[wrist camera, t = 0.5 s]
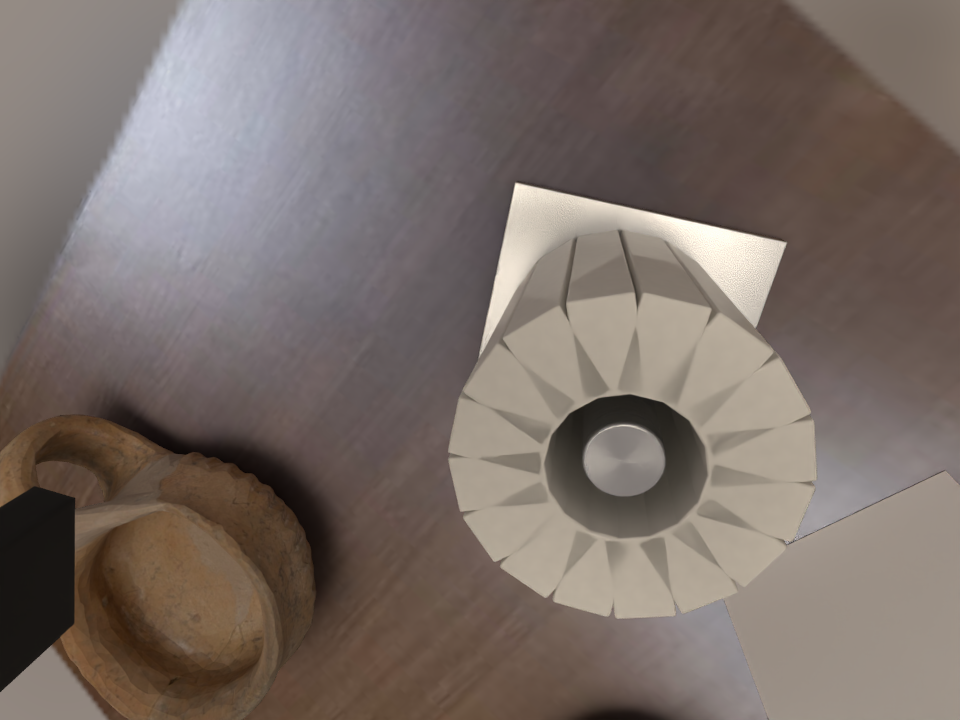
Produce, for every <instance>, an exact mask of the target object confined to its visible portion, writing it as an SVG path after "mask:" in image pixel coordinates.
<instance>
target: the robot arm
mask: <svg viewBox="0 0 960 720" xmlns="http://www.w3.org/2000/svg"><path fill="white" fill-rule="evenodd" d="M74 621H75V498H73V497H70V496H66V495H63V494H59V493H56V492H53V491H49V490H46V489H43V488H39V487H36V486H34V487H32V488H31V489H29V490H27V491H26V492H24V493H22V494H21V495H19V496H17V497H16V498H14V499H13V500H11V501H9V502H8V503H6V504H4V505H3V506H1V507H0V692H1V691H2V690H3V689H4V688H5V687H6V686H7V685H8V684H10V683H11V682H12V681H13V680H14V679H15V678H16V677H17V676H18V675H19V674H20V673H21V672H22V671H24V670H25V669H26V668H27V667H28V666H29V665H30V664H31V663H32V662H33V661H34V660H35V659H37V658H38V657H39V656H40V655H41V654H42V653H43V652H44V651H45V650H46V649H47V648H49V647H50V646H51V645H52V644H53V643H54V642H55V641H56V640H57V639H58V638H60V637H61V636H62V635H63V634H64V633H65V632H66V631H67V630H68V629H69V628H70V627H71V626H73V625H74Z"/></svg>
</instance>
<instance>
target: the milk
mask: <svg viewBox="0 0 960 720" xmlns="http://www.w3.org/2000/svg"><path fill="white" fill-rule="evenodd" d="M735 582H736V581H735ZM736 585H737V588H738V592H737V593H735V594H733V595H730V596H728V597H725V598H723V599H724V602H725V604H726V607H727V610H728V612H729V615H730V618H731V620H732V623H733V626H734V628H735V631H736V634H737V636H738V639H739V642H740V644H741V647H742V650H743V652H744V655H745V658H746V660H747V663H748V666H749V668H750V671H751V674H752V677H753V679H754V682H755V685H756V687H757V690H758V693H759V695H760V698H761V701H762V703H763V706H764V709H765V711H766V714H767V717H768V719H769V720H960V485H959V484H958V483H957V482H956V481H955V480H954V479H953V478H952V477H951V476H950V475H949V474H948V473H947V472H946V470H945V471H943V472H941V473H939V474H937V475H935V476H933V477H931V478H929V479H926V480H924V481H922V482H920V483H918V484H916V485H914V486H912V487H910V488H907V489H905V490H903V491H901V492H899V493H897V494H895V495H893V496H890V497H888V498H886V499H884V500H882V501H880V502H878V503H876V504H874V505H871V506H869V507H867V508H865V509H863V510H861V511H859V512H857V513H855V514H852V515H850V516H848V517H846V518H844V519H842V520H840V521H838V522H835V523H833V524H831V525H829V526H827V527H825V528H823V529H821V530H819V531H816V532H814V533H812V534H810V535H808V536H806V537H804V538H802V539H800V540H797V541H795V542H793V543H791V544H789V545H787V548H786V550H785V551H784V552H783V553H782V554H781V555H779V556H778V557H777V558H776V559H775V560H774V561H773V562H772V563H771V564H770V565H769V566H768V567H767V568H765V569H764V570H763V571H762V572H761V573H760V574H759V575H758V576H757V577H756V578H755V579H754V580H752V581H751V582H750V583H749V584H748V585H747V586H746V587H743V586H741V585H740V584H739V583H737V582H736Z"/></svg>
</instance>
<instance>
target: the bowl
mask: <svg viewBox="0 0 960 720" xmlns="http://www.w3.org/2000/svg"><path fill="white" fill-rule="evenodd" d="M53 460H54V461H62V462H70V463H73V464H76V465H79V466H82V467H85V468H87V469H88V470H90V471H92V472H93V473H94V474H95V475H96V477H97V479H98V482H99V484H100V487H101V489H102V491H103V493H104V502H103V503H98V504H94V505H89V506H85V507H82V508H78V509H75V621H74V625H73V626H71V627H70V628H69V629H68V630H67V631H66V632H65V633H64V634H63V635H62V636H61V640H62V643H63V646H64V649H65V651H66V652H67V654H68V656H69V658H70V660H72V661H73V662H74V663H75V664H76V666H77V667H78V668H79V670H80V672H81V673H82V675H83V677H84V678H85V679H86V680H87V681H88V682H90V683H91V684H92V685H93V686H94V687H95V688H96V690H97V691H98V692H99V694H100V695H101V696H102V697H103V698H104V699H105V700H106V701H107V702H108V703H109V704H110V705H112V706H113V707H114V708H115V709H116V710H117V711H118V712H119V713H120V714H121V715H122V716H124V717H126V718H128V719H130V720H243V719H244V718H245V717H246V716H247V715H248V714H249V713H250V712H251V711H252V710H253V709H254V708H256V707H257V706H258V705H259V703H260V702H261V701H262V699H263V698H264V697H265V695H266V694H267V692H268V691H269V689H270V687H271V686H272V684H273V682H274V680H275V678H276V675H277V673H278V671H279V670H280V668H281V667H282V666H283V665H284V664H285V663H286V662H287V661H288V659H289V658H290V657H291V656H292V655H293V654H294V652H295V651H296V650H297V649H298V648H299V646H300V644H301V643H302V641H303V639H304V637H305V634H306V632H307V631H308V630H309V628H310V627H311V624H312V617H313V613H314V608H315V598H316V589H315V580H314V575H313V573H314V566H313V562H312V558H311V548H310V544H309V543H308V541H307V540H306V535H305V531H304V529H303V528H302V526H301V525H300V524H299V522H298V519H297V517H296V516H295V514H294V513H293V511H292V510H291V509H290V508H289V507H288V506H286V505H285V503H284V501H283V500H282V499H280V498H279V497H277V496H276V495H275V494H274V491H273V489H272V488H271V487H270V486H268V485H265V484H262V483H260V482H259V481H258V479H257V477H256V476H255V475H253V474H252V473H244V472H242V471H241V470H240V469H239V468H238V467H237V466H236V465H235V464H233V463H223V462H222V461H221V460H219V459H218V458H215V457H210V458H206V457H204V456H203V455H202V454H200V453H196V452H192V453H189V454H187V455H184V454H174V453H173V452H172V451H169V450H167V449H165V448H162V447H161V446H159V445H157V444H155V443H153V442H152V441H150V440H148V439H147V438H145V437H144V436H142V435H141V434H139V433H137V432H135V431H132V430H130V429H127V428H125V427H123V426H120V425H118V424H116V423H114V422H111V421H109V420H106V419H102V418H97V417H91V416H86V415H60V416H57V417H53V418H49V419H46V420H44V421H41V422H39V423H37V424H34V425H32V426H31V427H29V428H28V429H26V430H25V431H23V432H22V433H21V434H19V435H18V436H17V437H16V438H15V439H13V440H12V441H11V442H10V443H9V444H8V445H7V446H6V447H5V448H4V449H3V450H2V451H1V452H0V507H1V506H3V505H4V504H6V503H8V502H9V501H11V500H13V499H14V498H16V497H17V496H19V495H21V494H22V493H24V492H26V491H27V490H29V489H31V488H32V487H34V486H36V487H39V488H40V485H39V483H38V479H37V472H36V465H37V464H39V463H41V462H45V461H53Z"/></svg>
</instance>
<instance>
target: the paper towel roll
mask: <svg viewBox="0 0 960 720" xmlns="http://www.w3.org/2000/svg"><path fill="white" fill-rule="evenodd" d="M627 394H632V395H636V396H640V397H644V398H648V399H652V400H654V404H655V408H656V413H657V417H658V421H659V426H660V430H661V434H662V439H663V443H664V447H665V452H666V459H667V462H666V468H665V471H664V474H663V476H662V478H661V479H660V481H659V482H658V483H657V484H656V485H655V486H654V487H653V488H652V489H650V490H649V491H647V492H645V493H643V494H641V495H638V496H633V497H616V496H612V495H609V494H606V493H604V492H602V491H601V490H599V489H598V488H596V487H595V486H594V485H593V484H592V483H591V482H590V481H589V479H588V478H587V476H586V475H585V472H584V470H583V466H582V437H583V412H584V405H586V404H588V403H590V402H592V401H594V400H595V399H597V398H602V397H610V396H619V395H627ZM810 413H811V410H810V408H809V406H808V404H807V403H806V401H805V399H804V397H803V396H802V394H801V392H800V390H799V389H798V387H797V385H796V383H795V381H794V380H793V378H792V376H791V374H790V373H789V371H788V369H787V367H786V366H785V364H784V362H783V360H782V359H781V358H780V356H779V355H778V354H777V353H776V352H775V351H774V350H773V348H772V347H771V346H770V345H769V344H768V343H767V341H766V340H765V339H764V338H763V337H762V336H761V335H760V333H759V332H758V331H757V330H756V329H755V328H754V327H753V325H752V324H751V323H750V322H749V321H748V320H747V318H746V317H745V316H744V315H743V314H742V313H741V312H740V310H739V309H738V308H737V307H736V306H735V305H734V304H733V302H732V301H731V300H730V299H729V298H728V297H727V296H726V294H725V293H724V292H723V291H722V290H721V289H720V287H719V286H718V285H717V284H716V283H715V282H714V281H713V279H712V278H711V277H710V276H709V275H708V274H707V273H706V271H705V270H704V269H703V268H702V267H701V266H700V265H699V264H698V263H697V262H696V261H694V260H693V259H692V258H690V257H689V256H687V255H686V254H685V253H683V252H682V251H681V250H679V249H678V248H676V247H675V246H674V245H672V244H671V243H669V242H664V241H663V239H661V238H657V237H653V236H648V235H644V234H639V233H635V232H630V231H626V230H622V233H621V236H619V232H618V230H613V231H607V232H601V233H596V234H590V235H584V236H579V237H578V238H577V243H576V242H575V240H574V239H571V240H569V241H568V242H566V243H565V244H563V245H561V246H560V247H558V248H557V249H555V250H553V251H552V252H550V253H548V254H547V255H545V256H544V257H542V258H540V260H539V262H538V263H535V264H534V266H533V267H532V269H531V270H530V271H529V273H528V274H527V276H526V277H525V278H524V280H523V281H522V283H521V284H520V285H519V287H518V288H517V290H516V291H515V292H514V294H513V296H512V298H511V300H510V302H509V304H508V306H507V307H506V309H505V311H504V313H503V315H502V317H501V319H500V320H499V322H498V324H497V326H496V328H495V330H494V332H493V334H492V335H491V337H490V339H489V341H488V343H487V345H486V347H485V349H484V350H483V352H482V354H481V356H480V358H479V360H478V362H477V363H476V365H475V367H474V369H473V371H472V373H471V375H470V377H469V378H468V380H467V382H466V384H465V386H464V388H463V391H462V393H461V395H460V397H459V398H458V403H457V408H456V413H455V418H454V423H453V428H452V433H451V437H450V442H449V447H448V452H449V453H451V454H450V456H449V458H448V461H449V466H450V470H451V474H452V479H453V483H454V488H455V492H456V497H457V501H458V506H459V510H460V511H465V513H464V516H463V519H464V520H465V522H466V523H467V524H468V526H469V527H470V529H471V530H472V532H473V533H474V534H475V536H476V537H477V539H478V540H479V541H480V543H481V544H482V546H483V547H484V549H485V550H486V551H487V553H488V554H489V556H490V557H491V558H492V560H493V561H494V562H496V561H498V560H501V563H500V567H501V568H502V569H503V570H505V571H506V572H508V573H509V574H511V575H512V576H514V577H515V578H516V579H518V580H519V581H521V582H522V583H524V584H525V585H527V586H528V587H530V588H531V589H533V590H534V591H535V592H537V593H538V594H540V595H541V596H543V597H544V598H547V597H548V596H549V595H550V594H551V593H552V592H553V601H554V602H555V603H559V604H562V605H566V606H570V607H573V608H577V609H580V610H584V611H588V612H591V613H595V614H598V615H602V616H606V617H608V616H609V615H610V613H611V610H612V607H613V606H614V612H615V617H616V619H623V618H644V617H665V616H676V609H675V603H676V605H677V606H678V608H679V609H680V611H681V612H682V613H683V614H685V613H687V612H690V611H692V610H695V609H697V608H700V607H702V606H705V605H707V604H710V603H712V602H715V601H717V600H720V599H723V598H725V597H728V596H730V595H733V594H735V593H737V592H738V588H737V585H736V582H737V583H739V584H740V585H741V586H743V587H746V586H747V585H748V584H749V583H750V582H751V581H752V580H754V579H755V578H756V577H757V576H758V575H759V574H760V573H761V572H762V571H763V570H764V569H765V568H767V567H768V566H769V565H770V564H771V563H772V562H773V561H774V560H775V559H776V558H777V557H778V556H779V555H781V554H782V553H783V552H784V551H785V550H786V548H787V545H786V543H785V541H784V540H786V541H790V542H792V541H793V540H794V538H795V535H796V533H797V531H798V528H799V526H800V524H801V521H802V519H803V517H804V514H805V512H806V510H807V507H808V505H809V503H810V500H811V498H812V496H813V494H814V491H815V486H814V484H813V483H812V481H816V480H817V466H816V446H815V427H814V421H813V419H812V418H811V417H810V415H809V414H810ZM735 581H736V582H735Z"/></svg>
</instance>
